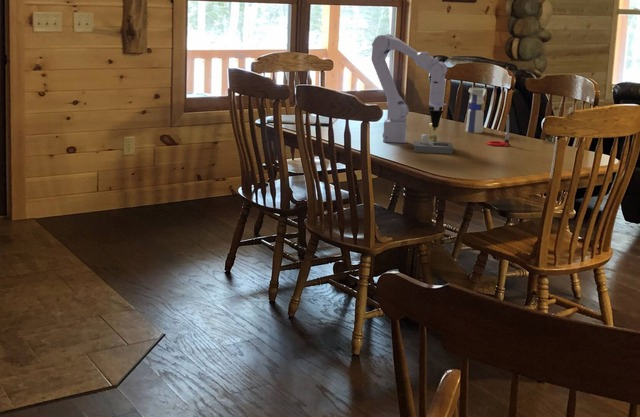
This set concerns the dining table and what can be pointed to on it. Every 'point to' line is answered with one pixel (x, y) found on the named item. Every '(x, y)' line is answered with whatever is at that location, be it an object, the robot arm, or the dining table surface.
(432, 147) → the grey holder block
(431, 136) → the cylinder
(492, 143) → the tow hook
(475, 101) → the water bottle
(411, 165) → the dining table surface
